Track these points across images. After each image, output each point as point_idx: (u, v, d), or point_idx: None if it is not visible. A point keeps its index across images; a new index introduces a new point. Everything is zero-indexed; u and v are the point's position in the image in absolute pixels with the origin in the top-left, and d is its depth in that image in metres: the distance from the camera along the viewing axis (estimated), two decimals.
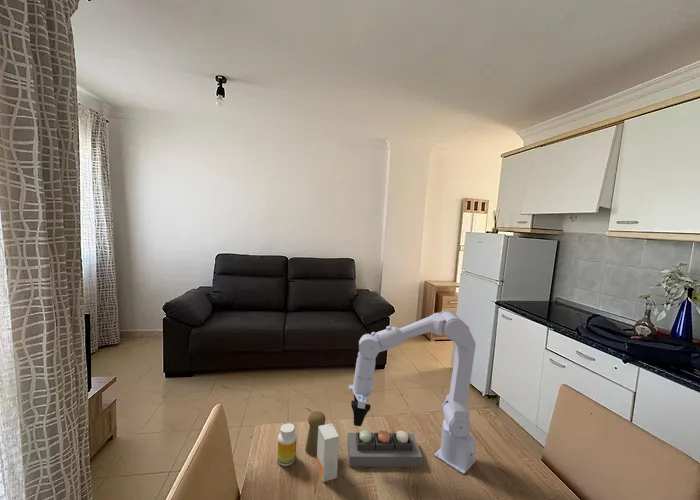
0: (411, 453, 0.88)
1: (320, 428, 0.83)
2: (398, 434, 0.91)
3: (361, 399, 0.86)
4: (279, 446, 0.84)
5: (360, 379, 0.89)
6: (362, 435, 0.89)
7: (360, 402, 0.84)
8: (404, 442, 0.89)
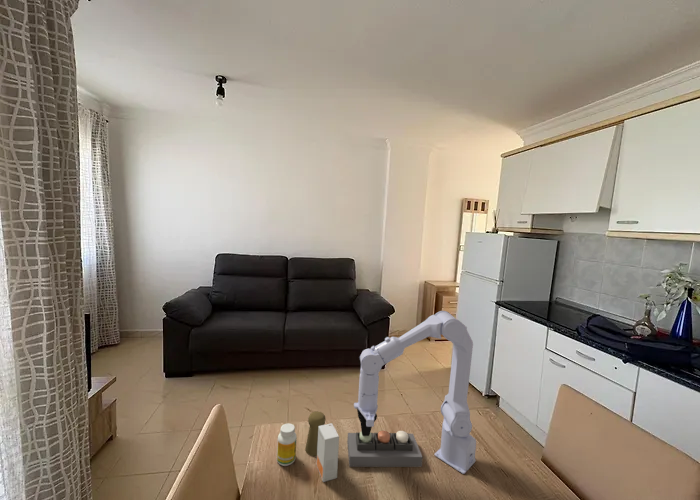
0: (411, 453, 0.88)
1: (320, 428, 0.83)
2: (398, 434, 0.91)
3: (369, 417, 0.84)
4: (279, 446, 0.84)
5: (365, 396, 0.87)
6: None
7: (368, 420, 0.82)
8: (404, 442, 0.89)
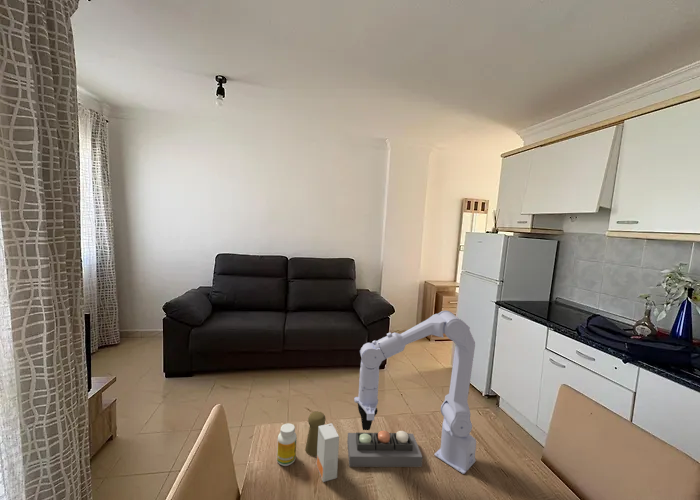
0: (411, 453, 0.88)
1: (320, 428, 0.83)
2: (398, 434, 0.91)
3: (369, 411, 0.84)
4: (279, 446, 0.84)
5: (365, 390, 0.87)
6: (362, 438, 0.90)
7: (369, 414, 0.82)
8: (404, 442, 0.89)
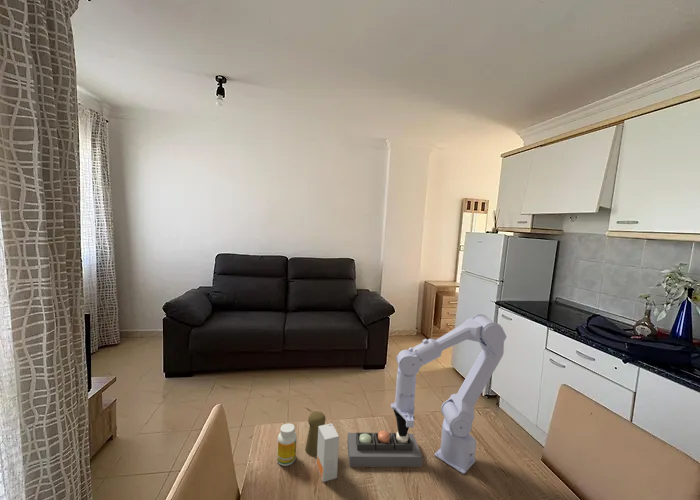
0: (411, 453, 0.88)
1: (320, 428, 0.83)
2: (398, 434, 0.91)
3: (408, 418, 0.85)
4: (279, 446, 0.84)
5: (403, 397, 0.87)
6: (362, 438, 0.90)
7: (409, 421, 0.83)
8: (404, 442, 0.89)
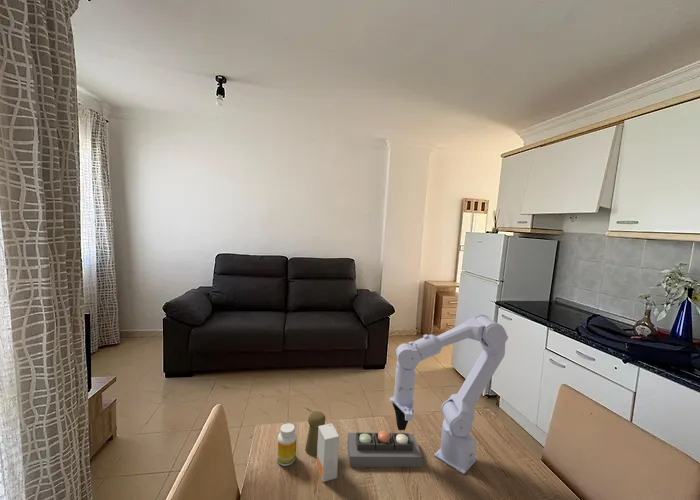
0: (411, 453, 0.88)
1: (320, 428, 0.83)
2: (398, 437, 0.91)
3: (407, 411, 0.84)
4: (279, 446, 0.84)
5: (402, 391, 0.87)
6: (362, 438, 0.90)
7: (407, 414, 0.83)
8: None
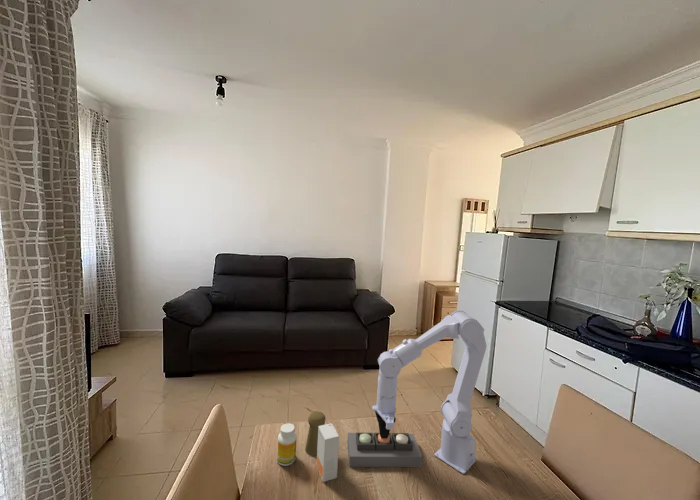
0: (411, 453, 0.88)
1: (320, 428, 0.83)
2: (398, 437, 0.91)
3: (388, 420, 0.84)
4: (279, 446, 0.84)
5: (384, 399, 0.87)
6: (362, 438, 0.90)
7: (388, 423, 0.83)
8: None
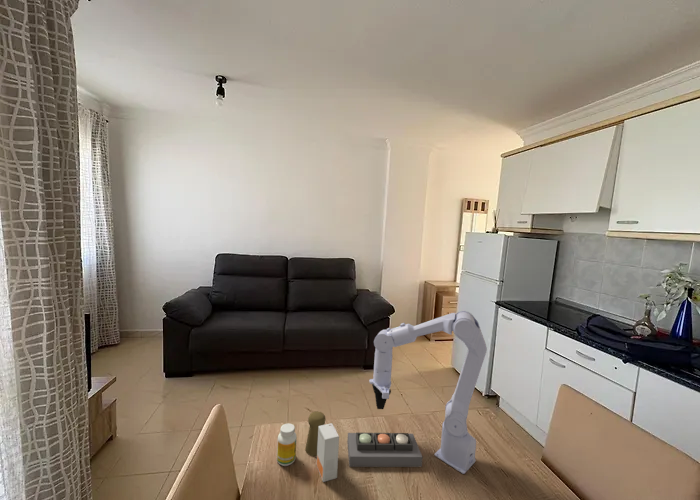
0: (411, 453, 0.88)
1: (320, 428, 0.83)
2: (398, 437, 0.91)
3: (384, 390, 0.92)
4: (279, 446, 0.84)
5: (380, 372, 0.95)
6: (362, 438, 0.90)
7: (384, 393, 0.91)
8: None
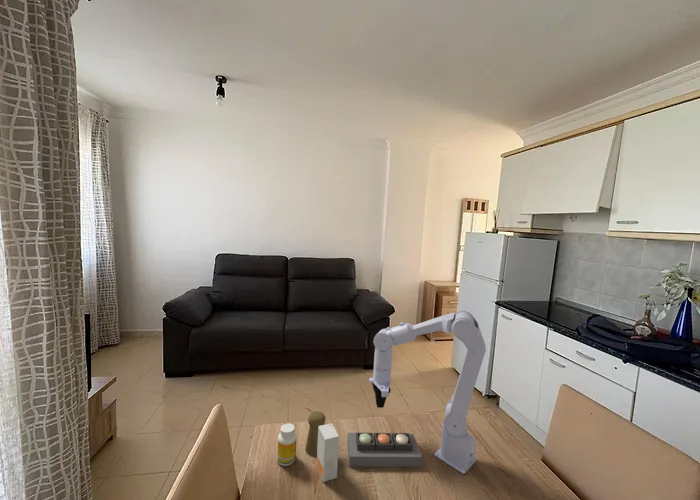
0: (411, 453, 0.88)
1: (320, 428, 0.83)
2: (398, 437, 0.91)
3: (384, 389, 0.93)
4: (279, 446, 0.84)
5: (380, 371, 0.96)
6: (362, 438, 0.90)
7: (384, 391, 0.91)
8: None
